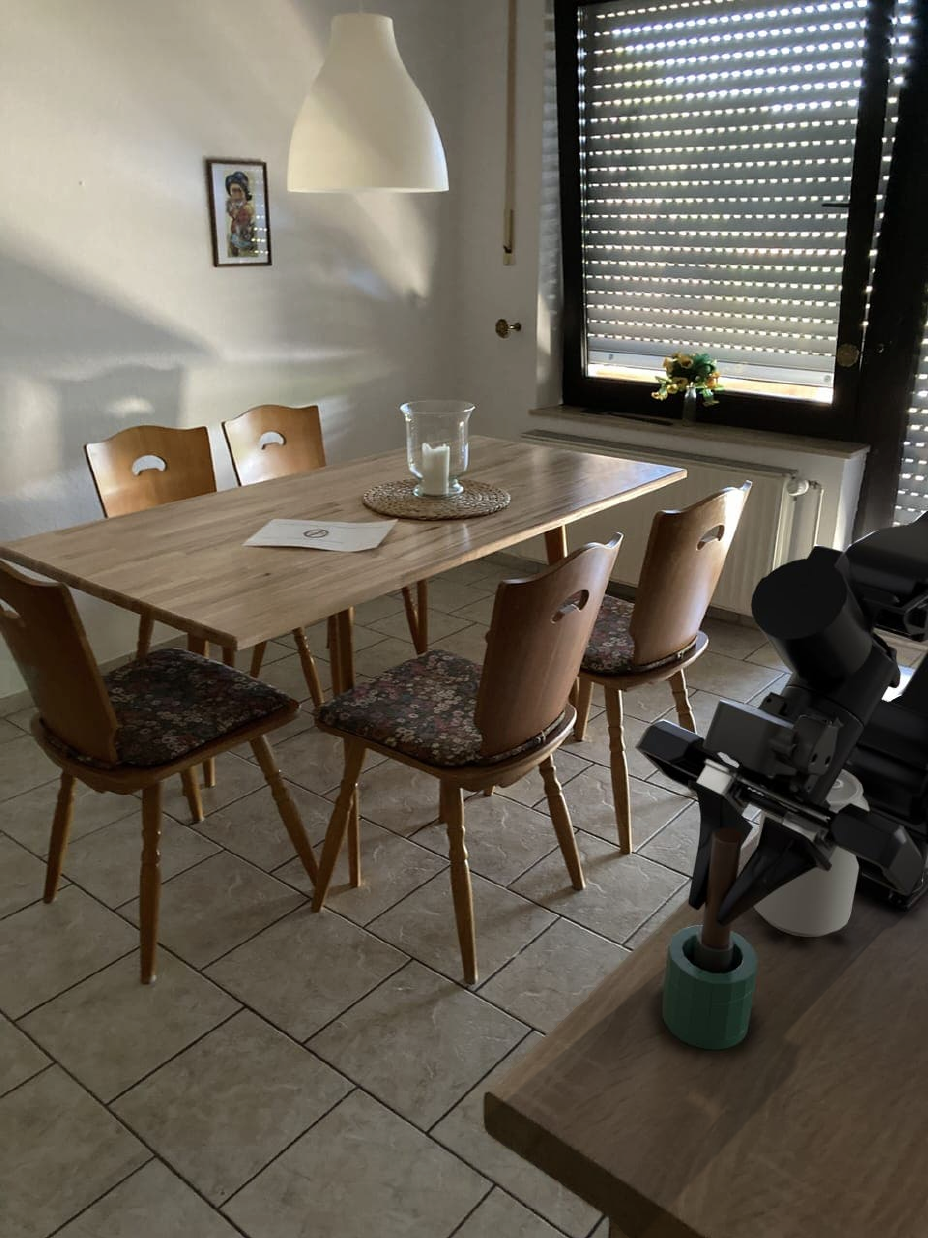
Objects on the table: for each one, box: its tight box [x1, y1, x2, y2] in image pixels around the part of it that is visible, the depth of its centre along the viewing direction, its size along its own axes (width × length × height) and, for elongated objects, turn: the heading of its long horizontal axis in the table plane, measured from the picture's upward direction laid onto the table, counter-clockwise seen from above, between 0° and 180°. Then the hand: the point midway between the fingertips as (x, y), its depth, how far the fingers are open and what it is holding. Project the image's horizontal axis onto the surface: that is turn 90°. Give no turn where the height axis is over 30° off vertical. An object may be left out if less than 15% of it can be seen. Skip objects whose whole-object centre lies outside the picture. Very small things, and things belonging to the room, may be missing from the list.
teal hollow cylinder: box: [661, 924, 759, 1051], centre depth 69 cm, size 6×6×6 cm
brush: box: [693, 828, 743, 973], centre depth 67 cm, size 2×2×12 cm
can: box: [753, 769, 869, 938], centre depth 78 cm, size 8×8×12 cm
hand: (705, 915), depth 66 cm, fingers closed on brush, 2 cm apart
